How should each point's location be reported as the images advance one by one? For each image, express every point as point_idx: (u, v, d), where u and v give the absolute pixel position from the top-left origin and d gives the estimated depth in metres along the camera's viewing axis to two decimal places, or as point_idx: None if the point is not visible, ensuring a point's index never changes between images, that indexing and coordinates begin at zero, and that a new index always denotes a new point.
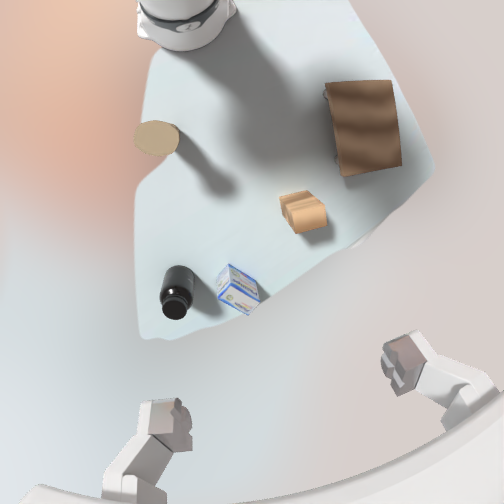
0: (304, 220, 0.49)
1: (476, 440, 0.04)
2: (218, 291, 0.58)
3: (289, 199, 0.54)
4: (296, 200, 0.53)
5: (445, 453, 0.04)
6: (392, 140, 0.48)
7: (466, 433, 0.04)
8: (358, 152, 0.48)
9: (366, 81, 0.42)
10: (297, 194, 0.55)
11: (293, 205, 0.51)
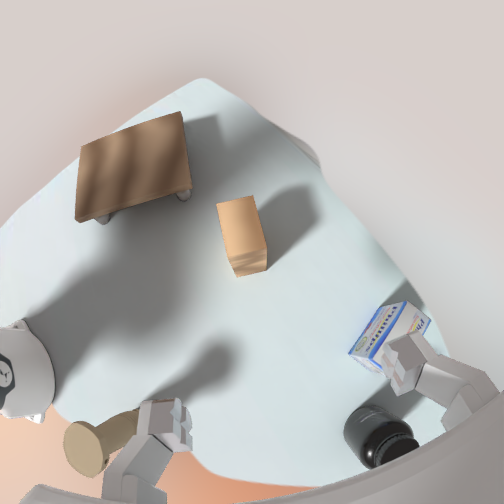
0: (242, 234, 0.29)
1: (476, 440, 0.04)
2: None
3: None
4: None
5: (445, 453, 0.04)
6: (146, 129, 0.38)
7: (466, 433, 0.04)
8: (157, 168, 0.36)
9: (78, 173, 0.37)
10: None
11: None
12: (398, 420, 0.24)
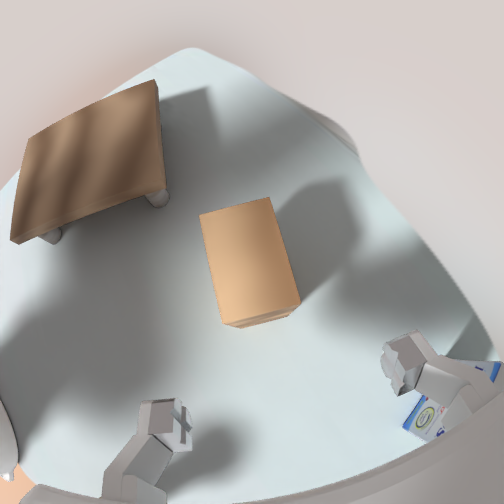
0: (251, 275, 0.14)
1: (476, 440, 0.04)
2: None
3: None
4: None
5: (445, 453, 0.04)
6: (107, 106, 0.24)
7: (466, 433, 0.04)
8: (114, 159, 0.22)
9: (20, 175, 0.23)
10: None
11: None
12: None
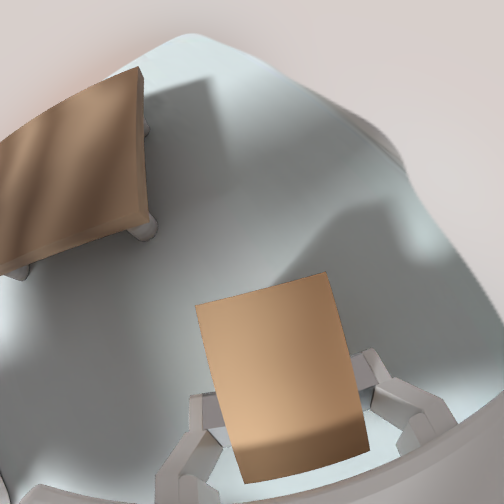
0: (294, 418, 0.07)
1: (476, 440, 0.04)
2: None
3: None
4: None
5: (445, 453, 0.04)
6: (76, 105, 0.17)
7: (466, 433, 0.04)
8: (78, 179, 0.15)
9: None
10: None
11: None
12: None
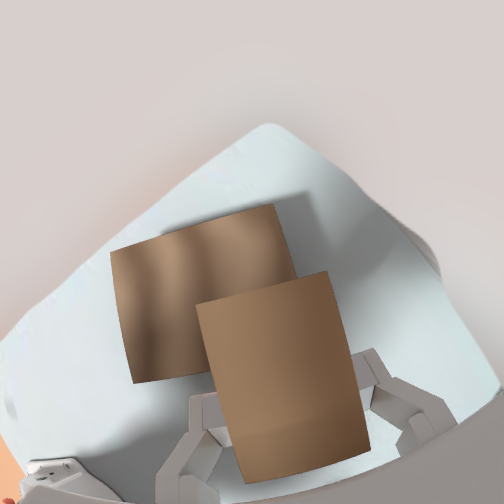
0: (295, 418, 0.07)
1: (476, 440, 0.04)
2: None
3: None
4: None
5: (445, 453, 0.04)
6: (222, 236, 0.27)
7: (466, 433, 0.04)
8: None
9: (118, 306, 0.26)
10: None
11: None
12: None
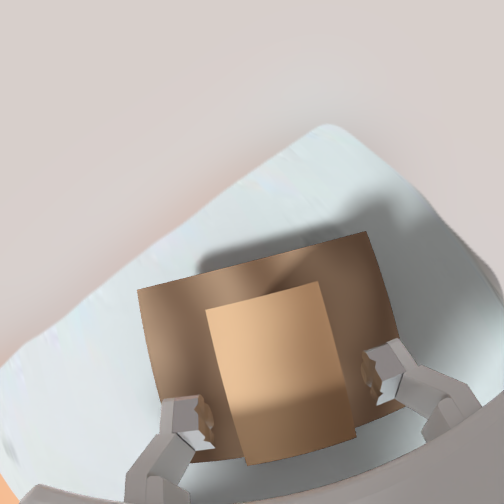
0: (290, 407, 0.08)
1: (476, 440, 0.04)
2: None
3: None
4: None
5: (445, 453, 0.04)
6: (305, 274, 0.20)
7: (466, 433, 0.04)
8: (354, 379, 0.17)
9: (154, 367, 0.18)
10: None
11: None
12: None
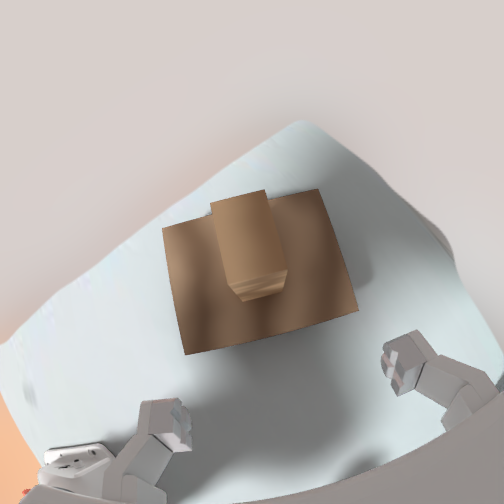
0: (250, 248, 0.19)
1: (476, 440, 0.04)
2: None
3: None
4: None
5: (445, 453, 0.04)
6: (275, 215, 0.30)
7: (466, 433, 0.04)
8: (310, 286, 0.28)
9: (171, 279, 0.29)
10: None
11: None
12: None
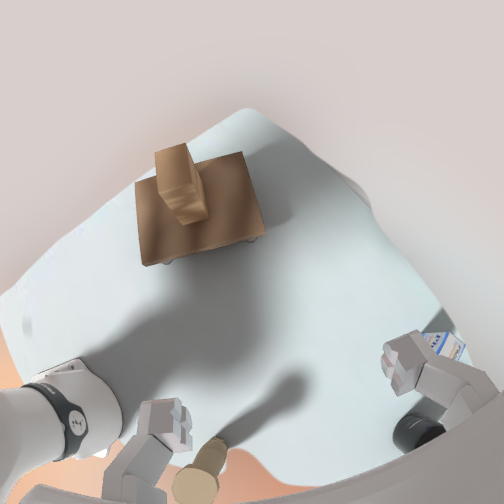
0: (172, 173, 0.31)
1: (476, 440, 0.04)
2: None
3: None
4: None
5: (445, 453, 0.04)
6: (209, 169, 0.42)
7: (466, 433, 0.04)
8: (229, 214, 0.40)
9: (138, 214, 0.41)
10: None
11: None
12: (440, 424, 0.27)
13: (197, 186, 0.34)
